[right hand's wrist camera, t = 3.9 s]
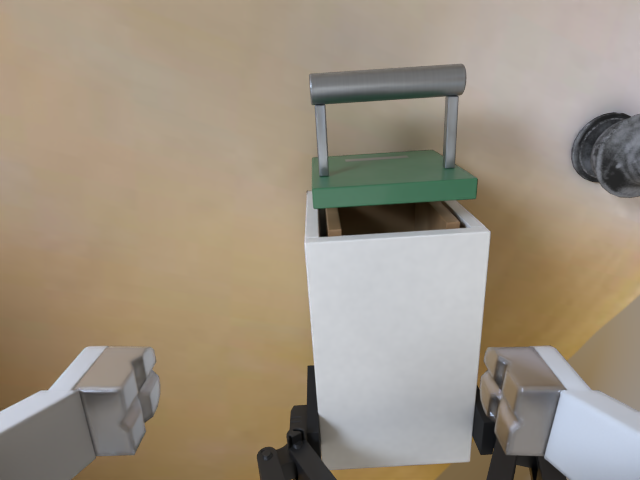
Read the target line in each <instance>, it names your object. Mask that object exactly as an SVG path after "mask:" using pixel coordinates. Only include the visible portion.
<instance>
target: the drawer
mask: <svg viewBox="0 0 640 480" xmlns="http://www.w3.org/2000/svg"><path fill="white" fill-rule="evenodd" d="M309 79H310V95H311V104H312V105H315V117H316V133H317V149H318V157H314V158H312V199H313V208H314V209H325V215H326V231H327V237H332V236H348V235H364V234H380V233H395V232H411V231H427V230H443V229H459V228H460V221H459V220H458V219H457V218H456V217H455V216H454V215H453V214H452V213H451V212H450V211H449V210H448V209H447V208H446V207H445V206H444V205H443V204H442V203H441V202H440V201H451V200H466V199H476V195H477V182H478V179H477V178H476V177H475V176H473V175H471V174H470V173H468V172H467V171H465V170H464V169H462V168H460V167H459V166H457V165H456V164H455V152H456V134H457V116H458V98H459V97H458V96H459V95H462V94H463V92H464V89H465V85H466V70H465V66H464V65H463V64H451V65H436V66H421V67H406V68H390V69H375V70H360V71H345V72H330V73H314V74H310V75H309ZM443 96H446V100H445V122H444V145H443V156H442V155H440V154H439V153H437V152H435V151H434V150H423V151H408V152H392V153H377V154H361V155H346V156H330V157H328V146H327V127H326V109H325V104H336V103H351V102H367V101H382V100H397V99H413V98H428V97H443Z"/></svg>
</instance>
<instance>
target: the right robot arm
mask: <svg viewBox="0 0 640 480" xmlns="http://www.w3.org/2000/svg"><path fill="white" fill-rule="evenodd" d="M155 363H156V357H155V353H154V350H153V349H152V348H151V347H135V346H89V347H86V348H84V349H83V350H82V352H81V353H80V354H79V355H78V356H77V357H76V359H75V360H74V361H73V362H72V363H71V364H70V365H69V367H68V368H67V369H66V370H65V371H64V372H63V374H62V375H61V376H60V377H59V378H58V379H57V380H56V382H55V383H54V384H53V385H52V386H51V387H50V389H49V390H41V391H39V392H37V393H35V394H33V395H31V396H29V397H27V398H25V399H24V400H22V401H20V402H18V403H16V404H14V405H12V406H10V407H8V408H6V409H4V410H2V411H0V480H71V479H72V478H73V477H74V476H76V475H77V474H78V473H79V472H80V471H81V470H83V469H84V468H85V467H86V466H87V465H88V464H90V463H91V462H92V461H93V460H94V459H95V458H96V456H115V455H134V454H135V452H136V450H137V448H138V446H139V444H140V442H141V440H142V438H143V436H144V434H145V432H146V429H145V424H144V423H145V422H146V421H148V420H149V419H150V418H152V417H153V416H154V413H155V411H156V409H157V407H158V402H159V398H160V380H159V376H158V375H157V374H156V373H155V372H154V371H153V370H152V368H153V367H154V365H155ZM484 363H485V365H486V367H487V368H488V370H487V371H486V372H485V373H484V374H483V375H482V376H481V381H480V399H481V403H482V406H483V409H484V411H485V414H486V416H487V417H488V418H490V419H491V420H492V421H494V422H495V423H496V424H495V429H494V432H495V434H496V436H497V438H498V440H499V442H500V444H501V446H502V448H503V450H504V452H505V454H506V455H524V456H544V458H545V459H546V460H547V461H548V462H549V463H551V464H552V465H553V466H554V467H555V468H556V469H558V470H559V471H560V472H561V473H562V474H563V475H565V476H566V477H567V478H568V479H569V480H640V411H638V410H636V409H634V408H632V407H630V406H628V405H626V404H624V403H622V402H620V401H618V400H616V399H614V398H612V397H611V396H609V395H607V394H605V393H603V392H601V391H599V390H591V389H590V387H589V386H588V385H587V384H586V383H585V382H584V380H583V379H582V378H581V377H580V376H579V375H578V374H577V372H576V371H575V370H574V369H573V368H572V367H571V365H570V364H569V363H568V362H567V361H566V360H565V359H564V357H563V356H562V355H561V354H560V353H559V352H558V350H557V349H556V348H554V347H552V346H529V347H488V348H487V350H486V352H485V357H484Z"/></svg>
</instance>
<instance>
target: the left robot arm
mask: <svg viewBox="0 0 640 480" xmlns="http://www.w3.org/2000/svg"><path fill="white" fill-rule="evenodd" d="M495 424H496V423H495V422H494V421H492V420H491V419H490V418H488V417H487V416H486V414H485V411H484V409H483V406H482V403H481V399H480V390H479V388H478V386H477V388H476V399H475V410H474V421H473V432H472V436H473V438H474V441H475V443H476V445H477V447H478V450H479V452H480V454H481V455H488V454H493V455H492V459H491V463H490V467H489V471H488V476H487V480H513V479H514V473H515V468H516V465H520V466H524V467H529V470H530V475H531V480H567V479H566V476H565V475H563V474H562V473H561V472H560V471H559V470H558V469H556V468H555V467H554V466H553V465H552V464H551V463H549V462H548V461H547V460H546V459H545V458H544V456H524V455H506V454H505V452H504V450H503V448H502V446H501V444H500V442H499V440H498V438H497V436H496V434H495V432H494V429H495ZM493 448H494V451H493ZM257 461H258V468H259V474H260V480H291V479H293V480H336V478H335V477H334V476H333V474H332V473H331V472H330V471H329V469H328V468H327V467H326V465H325V464H324V463H323V461H322V460H321V441H320V429H319V416H318V406H317V393H316V381H315V368H314V365H313V366H308V376H307V405H298V406H294V407H293V408H292V410H291V418H290V430H289V431H288V433H287V444H286V445H285V446H284V447H282V448H280V449H278V450H275V449H274V448H272V447H265V448H263V449H261V450H260V451H259V452H258V454H257Z"/></svg>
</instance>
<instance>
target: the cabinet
mask: <svg viewBox="0 0 640 480" xmlns="http://www.w3.org/2000/svg"><path fill="white" fill-rule="evenodd" d="M440 202H441V203H442V204H443V205H444V206H445V207H446V208H447V209H448V210H449V211H450V212H451V213H452V214H453V215H454V216H455V217H456V218H457V219H458V220H459V221H460V228H459V229H443V230H427V231H411V232H395V233H380V234H364V235H348V236H332V237H327V231H326V215H325V209H314V208H313V199H312V191H307V202H306V223H305V257H306V269H307V281H308V294H309V306H310V319H311V331H312V343H313V356H314V368H315V381H316V393H317V406H318V416H319V429H320V441H321V455H322V461H323V463H324V464H325V465H326V467H327V468H328V469H329V470H340V469H357V468H374V467H391V466H408V465H425V464H442V463H459V462H469V461H470V453H471V443H472V432H473V421H474V410H475V399H476V388H477V377H478V366H479V356H480V345H481V334H482V323H483V312H484V301H485V290H486V279H487V268H488V258H489V247H490V236H491V232H490V231H489V230H488V229H487V228H486V227H485V226H484V225H483V224H482V223H481V222H480V221H479V220H478V219H476V218H475V217H474V216H473V215H472V214H471V213H470V212H469V211H467V210H466V209H465V208H464V207H463V206H462V205H461V204H460V203H458V202H457V201H456V200H451V201H440Z"/></svg>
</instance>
